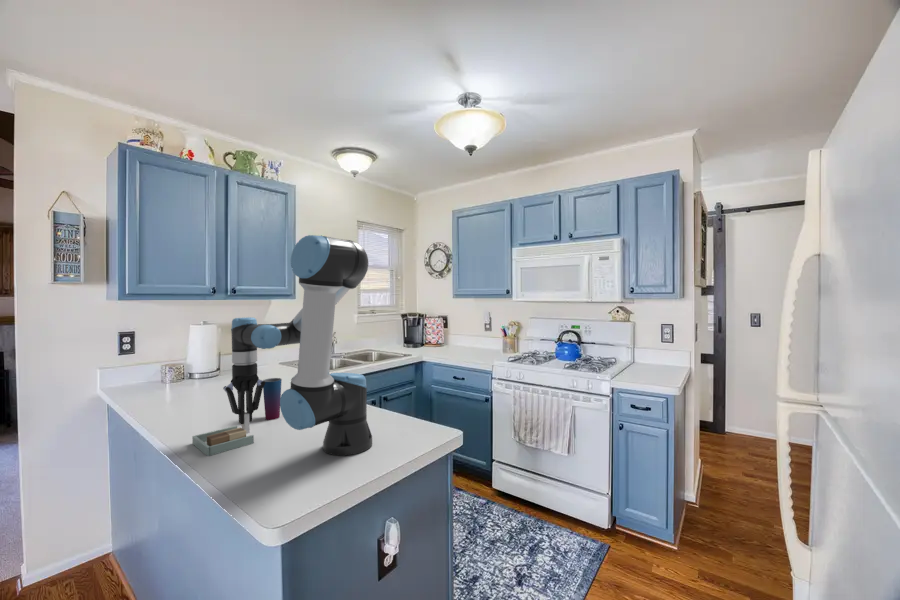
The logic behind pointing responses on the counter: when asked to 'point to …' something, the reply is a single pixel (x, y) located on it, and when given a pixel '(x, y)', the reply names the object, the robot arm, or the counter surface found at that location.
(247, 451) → the counter surface
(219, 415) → the counter surface
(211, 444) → the walnut tile
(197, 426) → the counter surface
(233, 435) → the oak tile
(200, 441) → the box
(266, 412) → the cup
